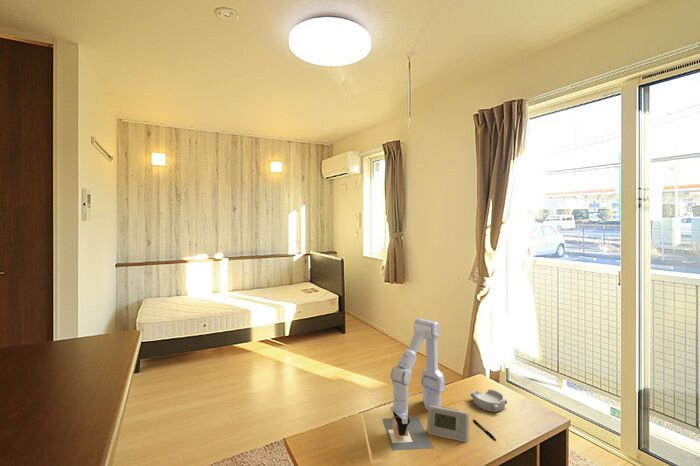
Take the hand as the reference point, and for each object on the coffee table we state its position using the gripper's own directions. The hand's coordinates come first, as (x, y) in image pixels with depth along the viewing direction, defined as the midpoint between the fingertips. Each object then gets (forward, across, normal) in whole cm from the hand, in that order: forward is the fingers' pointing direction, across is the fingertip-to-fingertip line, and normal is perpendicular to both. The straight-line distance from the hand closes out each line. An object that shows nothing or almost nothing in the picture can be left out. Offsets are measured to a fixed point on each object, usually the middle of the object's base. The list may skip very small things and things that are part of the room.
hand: (400, 430), depth 132 cm
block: (+1, 0, 0) cm, 1 cm away
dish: (+3, -20, +48) cm, 52 cm away
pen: (+3, -2, +36) cm, 36 cm away
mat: (+3, -2, +3) cm, 5 cm away
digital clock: (+3, 0, +20) cm, 20 cm away
